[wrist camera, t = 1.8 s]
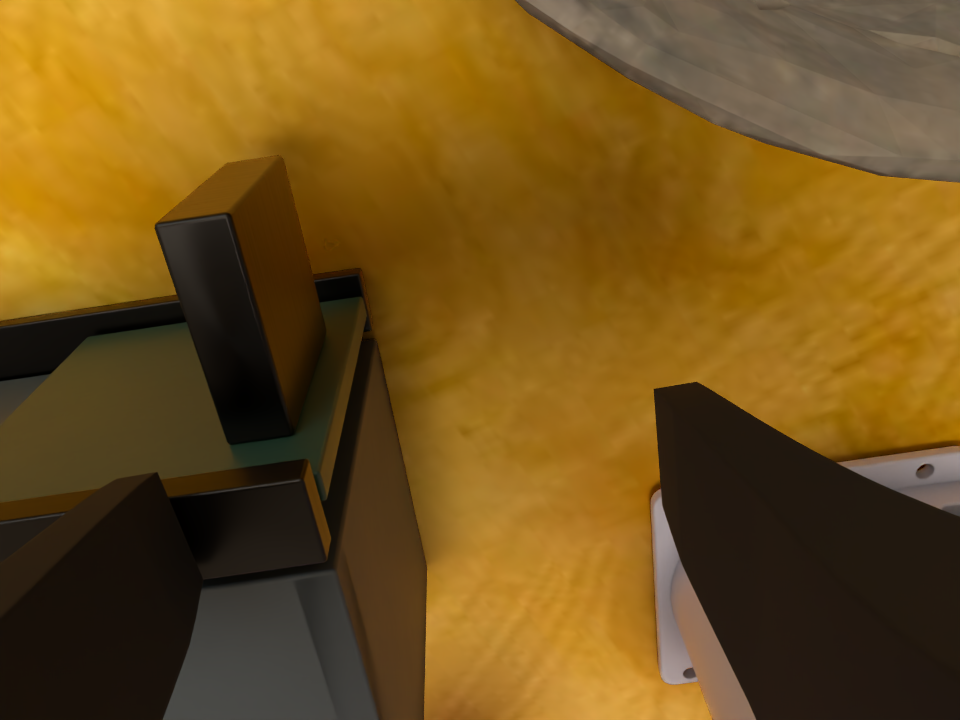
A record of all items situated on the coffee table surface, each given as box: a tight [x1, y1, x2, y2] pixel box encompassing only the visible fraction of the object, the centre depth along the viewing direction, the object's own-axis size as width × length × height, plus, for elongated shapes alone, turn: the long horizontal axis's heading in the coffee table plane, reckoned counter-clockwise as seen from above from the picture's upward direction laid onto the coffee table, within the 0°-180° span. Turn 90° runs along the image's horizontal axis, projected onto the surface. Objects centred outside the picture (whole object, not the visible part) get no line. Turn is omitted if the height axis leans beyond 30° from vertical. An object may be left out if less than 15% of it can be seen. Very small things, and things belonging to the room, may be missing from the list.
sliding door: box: [0, 155, 367, 503], centre depth 15 cm, size 7×5×8 cm, turn 98°
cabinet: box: [0, 268, 427, 720], centre depth 18 cm, size 14×10×9 cm
